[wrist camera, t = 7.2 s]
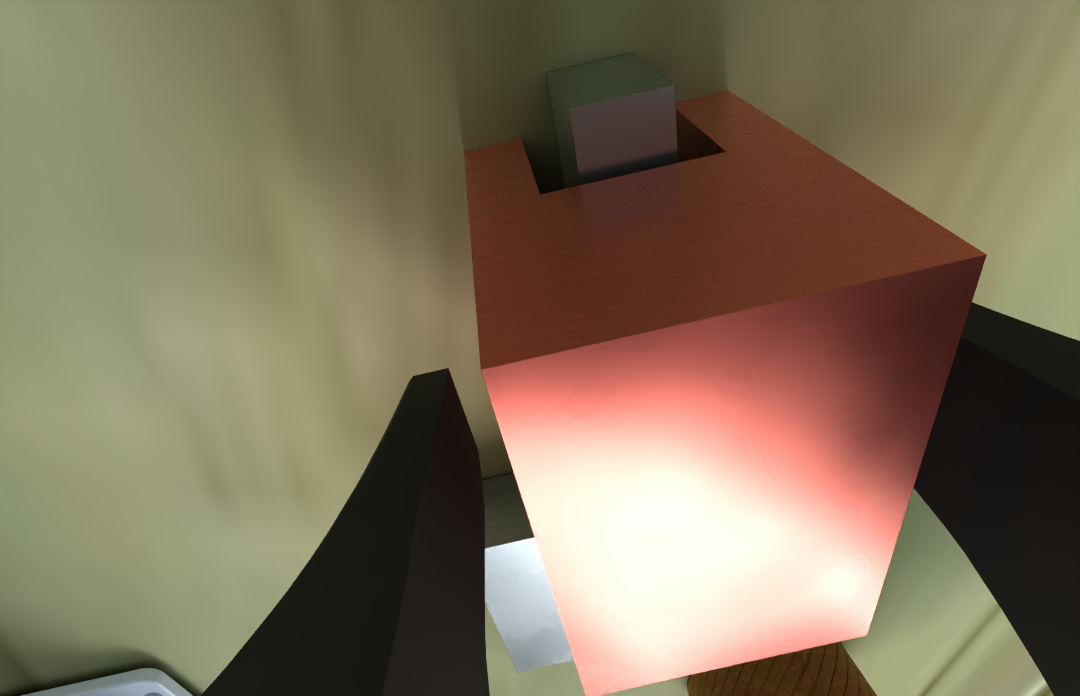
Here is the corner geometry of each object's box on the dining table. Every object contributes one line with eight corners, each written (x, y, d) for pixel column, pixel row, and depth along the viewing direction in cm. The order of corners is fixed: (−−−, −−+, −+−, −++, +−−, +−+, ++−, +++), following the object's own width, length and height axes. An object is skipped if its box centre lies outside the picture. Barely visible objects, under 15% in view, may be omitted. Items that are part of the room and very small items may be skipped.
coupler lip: (792, 544, 18) (840, 631, 16) (511, 607, 18) (520, 702, 16) (865, -1, 9) (997, 25, 7) (314, 125, 9) (273, 191, 7)
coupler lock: (725, 392, 14) (866, 635, 9) (539, 434, 14) (586, 698, 9) (727, 90, 10) (986, 254, 5) (464, 151, 10) (481, 370, 5)
